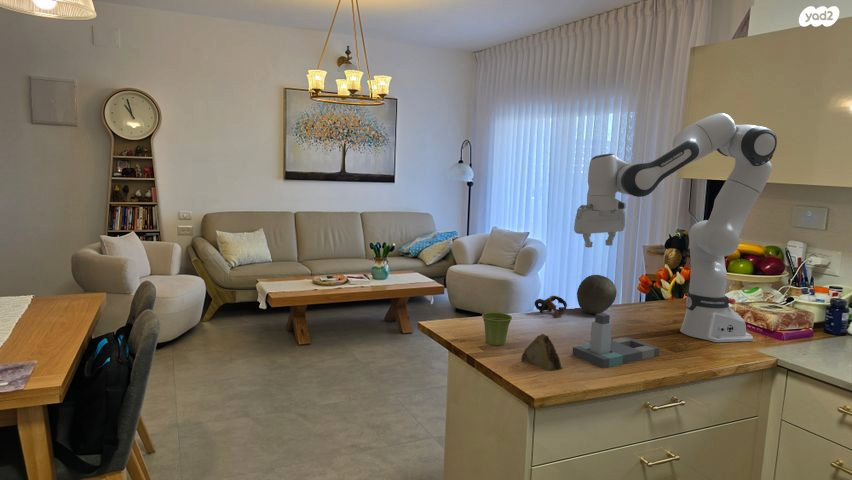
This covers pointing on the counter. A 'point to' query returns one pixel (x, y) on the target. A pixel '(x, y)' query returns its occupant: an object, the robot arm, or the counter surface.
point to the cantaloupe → (596, 294)
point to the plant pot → (496, 327)
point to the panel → (617, 352)
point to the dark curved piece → (551, 305)
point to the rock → (542, 354)
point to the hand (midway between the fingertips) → (598, 246)
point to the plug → (601, 334)
